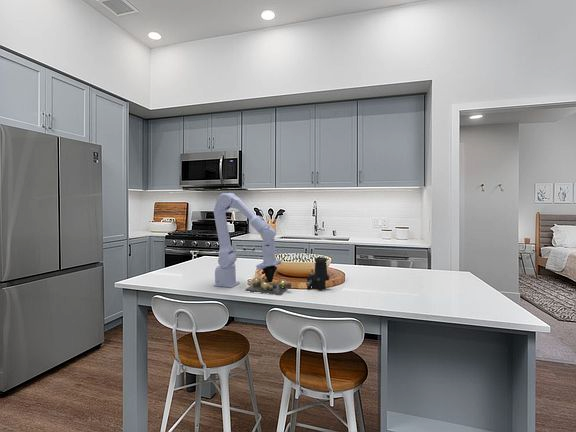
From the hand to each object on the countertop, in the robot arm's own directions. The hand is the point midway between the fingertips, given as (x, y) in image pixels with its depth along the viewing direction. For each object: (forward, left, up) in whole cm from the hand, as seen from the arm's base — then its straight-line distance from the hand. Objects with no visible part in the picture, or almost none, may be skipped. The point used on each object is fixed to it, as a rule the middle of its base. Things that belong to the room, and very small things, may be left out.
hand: (269, 281), depth 154 cm
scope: (+23, +3, -2) cm, 23 cm away
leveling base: (+1, -5, -2) cm, 6 cm away
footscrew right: (+3, -8, -1) cm, 9 cm away
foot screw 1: (-3, -3, -1) cm, 5 cm away
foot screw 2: (+9, -4, -1) cm, 10 cm away
